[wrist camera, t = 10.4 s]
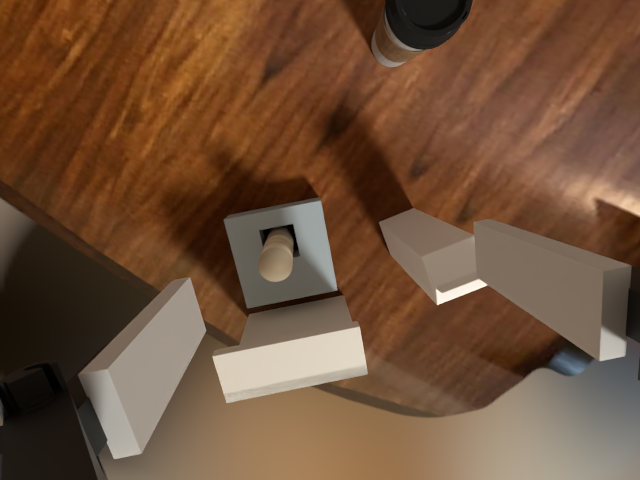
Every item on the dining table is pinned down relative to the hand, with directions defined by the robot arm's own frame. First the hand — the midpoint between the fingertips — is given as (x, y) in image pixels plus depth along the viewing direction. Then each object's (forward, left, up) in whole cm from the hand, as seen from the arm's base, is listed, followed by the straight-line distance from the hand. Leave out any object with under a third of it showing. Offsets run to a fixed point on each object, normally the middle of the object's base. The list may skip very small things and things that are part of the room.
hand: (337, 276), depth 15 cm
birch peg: (+6, -6, -36) cm, 37 cm away
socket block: (+8, -6, -36) cm, 38 cm away
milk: (+9, +13, -37) cm, 40 cm away
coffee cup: (-18, +15, -37) cm, 44 cm away
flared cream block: (+16, -6, -36) cm, 40 cm away
